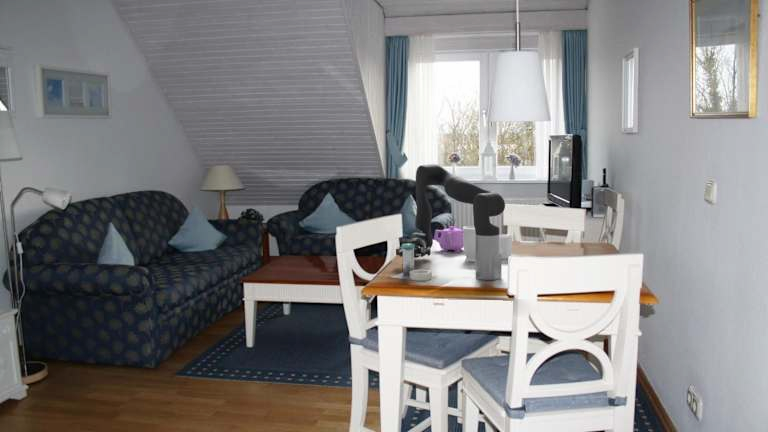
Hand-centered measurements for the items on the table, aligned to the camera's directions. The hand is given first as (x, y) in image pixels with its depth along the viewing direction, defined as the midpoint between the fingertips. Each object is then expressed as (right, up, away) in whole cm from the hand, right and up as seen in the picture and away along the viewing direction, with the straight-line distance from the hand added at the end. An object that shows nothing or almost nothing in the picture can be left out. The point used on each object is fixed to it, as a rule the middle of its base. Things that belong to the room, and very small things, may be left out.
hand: (411, 254), depth 280 cm
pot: (+22, -1, +50) cm, 54 cm away
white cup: (+42, -3, +29) cm, 52 cm away
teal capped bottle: (-1, -8, -7) cm, 10 cm away
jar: (+29, -4, +24) cm, 38 cm away
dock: (+1, -9, -11) cm, 15 cm away
